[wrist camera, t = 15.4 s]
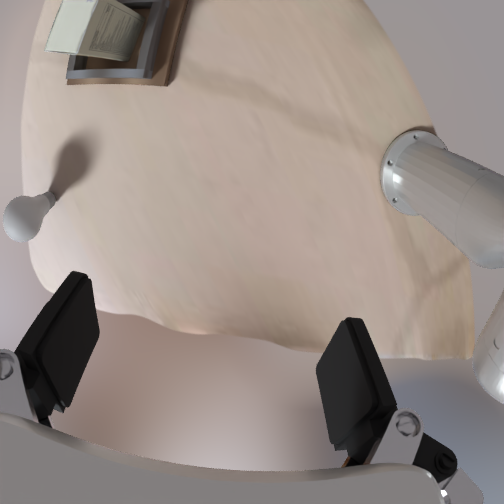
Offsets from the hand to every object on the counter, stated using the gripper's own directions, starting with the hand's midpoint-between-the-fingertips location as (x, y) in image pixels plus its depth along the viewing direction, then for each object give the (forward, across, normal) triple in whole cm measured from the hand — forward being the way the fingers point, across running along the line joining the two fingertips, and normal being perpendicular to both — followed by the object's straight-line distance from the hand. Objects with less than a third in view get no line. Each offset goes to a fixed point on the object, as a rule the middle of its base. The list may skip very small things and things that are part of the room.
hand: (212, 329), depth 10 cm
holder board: (+28, +17, -17) cm, 37 cm away
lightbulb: (+28, +27, +9) cm, 40 cm away
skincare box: (+27, +17, -14) cm, 35 cm away
